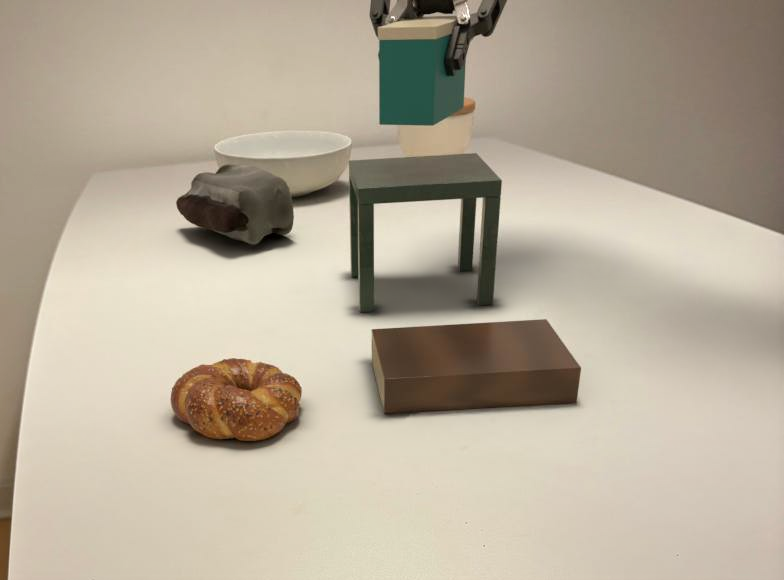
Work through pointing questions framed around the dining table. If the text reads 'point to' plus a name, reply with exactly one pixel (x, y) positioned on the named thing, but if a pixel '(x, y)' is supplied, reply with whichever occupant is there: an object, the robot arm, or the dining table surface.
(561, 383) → the low shelf
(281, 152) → the serving bowl
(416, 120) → the box
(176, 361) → the dining table surface
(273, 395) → the pretzel
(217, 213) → the rock
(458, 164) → the upper shelf
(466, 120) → the lidded bowl
